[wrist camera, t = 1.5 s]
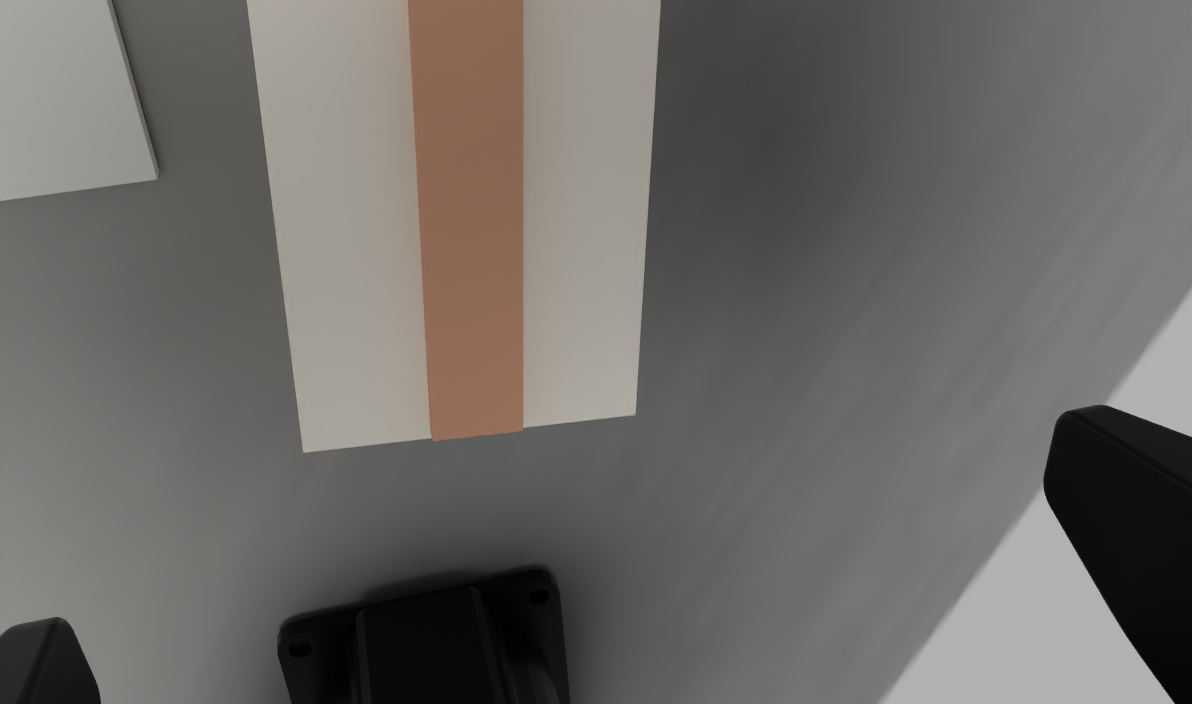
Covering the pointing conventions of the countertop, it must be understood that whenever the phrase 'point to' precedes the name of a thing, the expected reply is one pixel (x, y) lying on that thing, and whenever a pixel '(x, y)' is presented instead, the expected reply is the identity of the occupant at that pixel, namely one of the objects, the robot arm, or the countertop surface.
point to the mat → (67, 101)
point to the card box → (458, 209)
